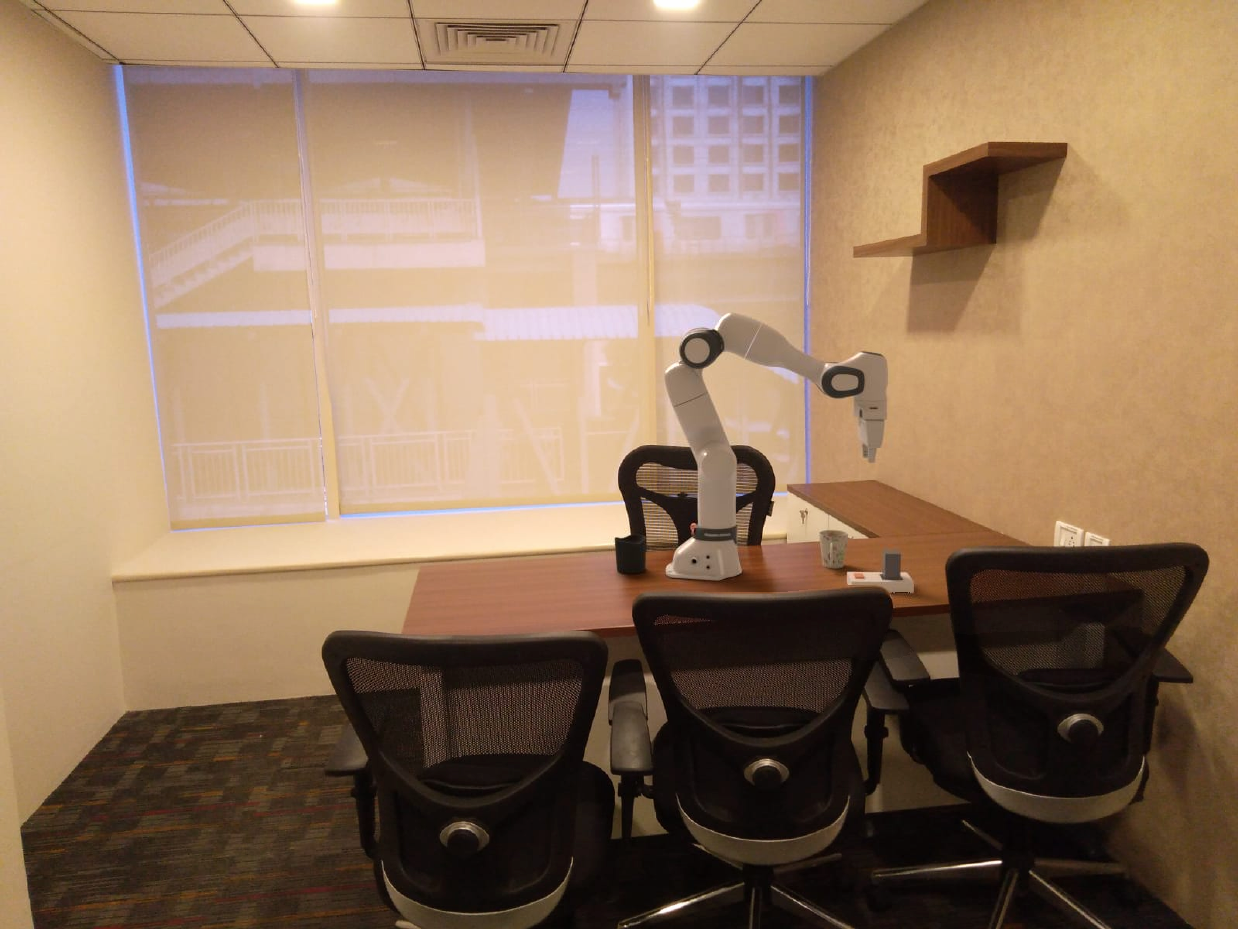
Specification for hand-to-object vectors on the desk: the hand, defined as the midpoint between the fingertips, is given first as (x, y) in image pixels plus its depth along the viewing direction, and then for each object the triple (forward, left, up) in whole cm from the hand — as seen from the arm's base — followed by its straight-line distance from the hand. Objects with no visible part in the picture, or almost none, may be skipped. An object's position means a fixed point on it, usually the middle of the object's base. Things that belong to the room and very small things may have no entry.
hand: (868, 459), depth 225 cm
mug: (-8, +8, -34) cm, 36 cm away
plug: (+5, -11, -34) cm, 36 cm away
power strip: (+2, -11, -34) cm, 35 cm away
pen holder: (-68, +4, -34) cm, 76 cm away
